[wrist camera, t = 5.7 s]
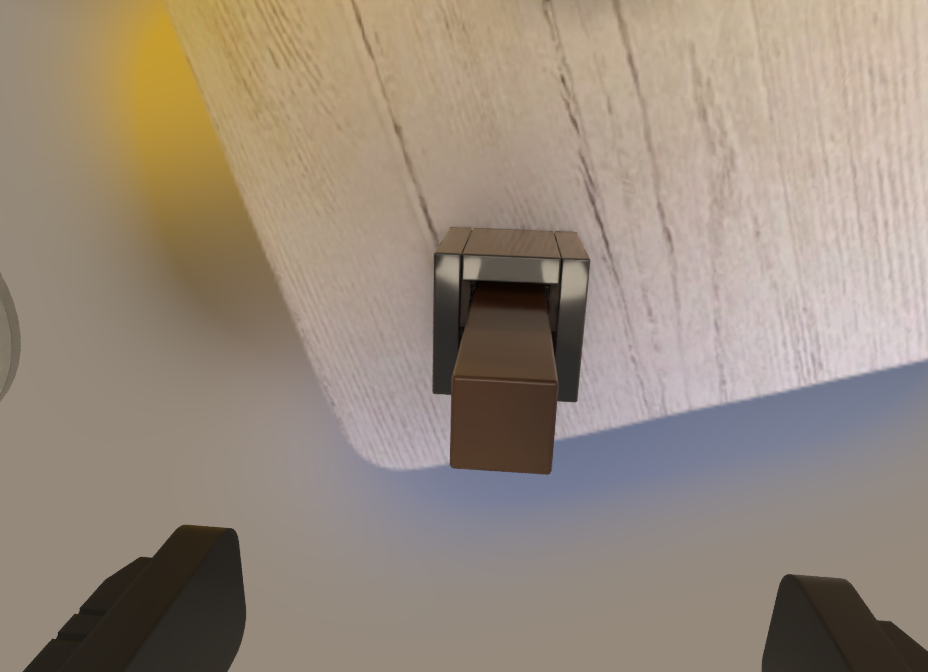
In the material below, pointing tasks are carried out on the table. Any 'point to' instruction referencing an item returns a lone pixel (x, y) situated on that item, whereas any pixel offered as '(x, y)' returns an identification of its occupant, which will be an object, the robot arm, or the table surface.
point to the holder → (511, 262)
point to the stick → (505, 382)
